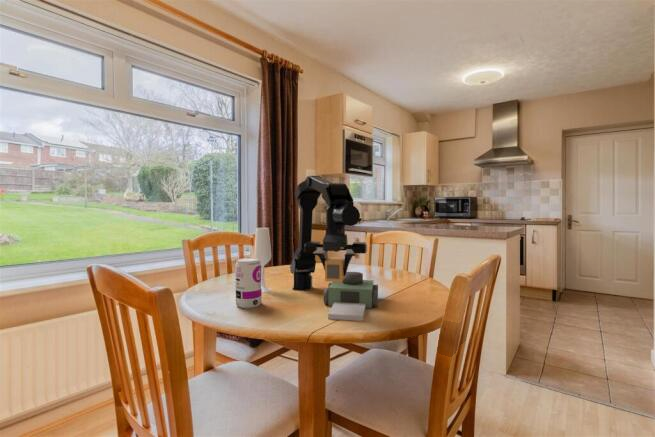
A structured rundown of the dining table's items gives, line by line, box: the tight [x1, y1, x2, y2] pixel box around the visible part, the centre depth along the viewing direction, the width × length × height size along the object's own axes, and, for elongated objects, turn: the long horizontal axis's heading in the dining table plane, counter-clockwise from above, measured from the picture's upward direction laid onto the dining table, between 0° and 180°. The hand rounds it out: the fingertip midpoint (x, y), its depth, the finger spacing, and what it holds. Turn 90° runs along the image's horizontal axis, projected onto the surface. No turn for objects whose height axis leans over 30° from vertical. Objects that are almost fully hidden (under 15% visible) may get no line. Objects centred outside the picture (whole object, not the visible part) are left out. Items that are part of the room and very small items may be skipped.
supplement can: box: [234, 257, 263, 309], centre depth 109 cm, size 8×8×15 cm
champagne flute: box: [253, 227, 273, 294], centre depth 127 cm, size 7×7×24 cm
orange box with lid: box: [324, 256, 346, 283], centre depth 102 cm, size 5×8×6 cm, turn 169°
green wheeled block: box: [323, 271, 379, 322], centre depth 107 cm, size 17×25×9 cm
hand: (335, 275), depth 102 cm, fingers closed on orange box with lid, 5 cm apart
